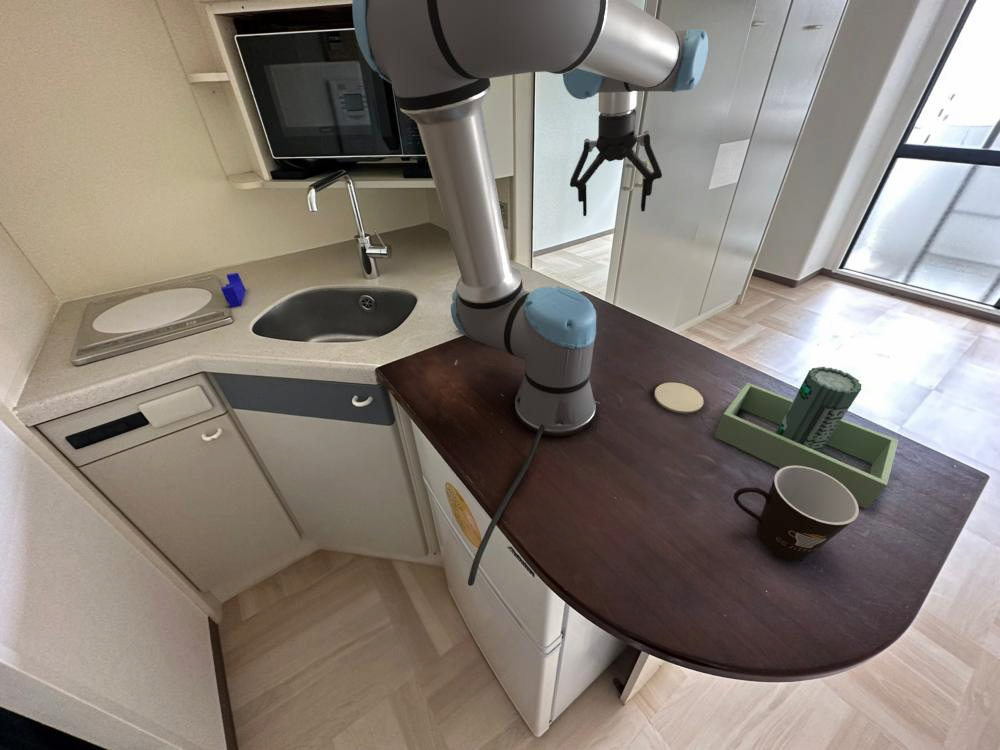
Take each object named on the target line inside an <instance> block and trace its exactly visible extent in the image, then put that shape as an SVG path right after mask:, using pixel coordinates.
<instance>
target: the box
mask: <svg viewBox="0 0 1000 750" xmlns="http://www.w3.org/2000/svg"><path fill="white" fill-rule="evenodd" d="M793 400H794V399H792V398H789V397H787V396H784V395H781V394H779V393H776V392H774V391H771V390H769V389H766V388H763V387H760V386H757V385H756V384H753V383H750V382H746V383H745V385H744V386H743V387H742V388H741V390H740V392H739V393H738V394H737V395H736V397H734V400H733V401H732V402H731V403H730V405H729V406H728V407H727V408H726V410H725V411H724V412H723V414H722V417H721V419H720V421H719V424H718V426H717V429H716V431H715V433H714V435H713V436H714V438H716V439H718V440H720V441H723V443H726V444H728V445H730V446H733V447H735V448H737V449H739V450H740V451H743V452H744V453H745V452H746V454H747V453H748V454H749V455H752V456H754V457H756V458H758V459H760V460H762V461H764V462H767V463H768V464H770V465H772V466H775V467H776V468H779V469H782V468H784V467H787V466H805V467H809V468H813V469H816V470H819V471H821V472H823V473H825V474H828V475H829V476H831V477H833V478H834V479H836V480H837V481H839V482H840V483H842V484H843V485H844V486H845V487H846V488H847V489H848V490H849V491H850V492H851V493H852V495H853V496H854V498H855V499H856V501H857V504H858V506H859V507H860V508H863V509H864V510H867V509H868V508H869V507H870V506H871V504H872V503H873V502H875V500H876V499H877V498H878V496H879V495H880V494H881V493H882V492H883V491H884V490H885V488H886V487H887V486H888V484H889V483H888V482H889V479H890V474H891V471H892V467H893V464H894V460H895V454H896V451H897V447H898V443H899V440H898V439H897V438H895V437H892V436H889V435H886V434H884V433H881V432H878V431H876V430H873V429H870V428H868V427H865V426H863V425H860V424H858V423H856V422H852V421H850V420H847V419H845V418H842V420H841V421H840V423H839V424H838V426H837V427H836V429H835V430H834V432H833V433H832V435H831V436H830V438H829V439H828V441H827V442H826V444H825V445H826V446H829V447H831V448H834V449H836V450H838V451H840V452H842V453H845V454H847V455H850V456H852V457H855V458H857V459H860V460H862V461H864V462H866V463H869V464H871V467H870V470H869V473H868V472H866V471H863V470H861V469H859V468H857V467H854V466H852V465H850V464H847V463H845V462H843V461H840V460H838V459H836V458H834V457H832V456H829V455H826V454H824V453H822V452H817V451H815V450H813V449H810V448H808V447H806V446H804V445H801V444H799V443H797V442H794V441H792V440H790V439H787V438H785V437H783V436H781V435H778V434H776V432H775V431H771V430H769V429H766V428H765V427H762V426H761V425H757V424H755V423H753V422H751V421H748V420H746V419H743V418H741V417H739V416H737V414H738V413H739V412H740V411H741V410H743V411H744V412H745V411H746V412H748V413H750V414H753V415H755V416H756V417H757V416H758V417H759V418H761V419H765V420H767V421H769V422H771V423H773V424H777V425H779V426H780V425H781V423H782V421H783V419H784V417H785V415H786V413H787V411H788V410H789V408H790V406H791V404H792V402H793Z"/></svg>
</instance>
